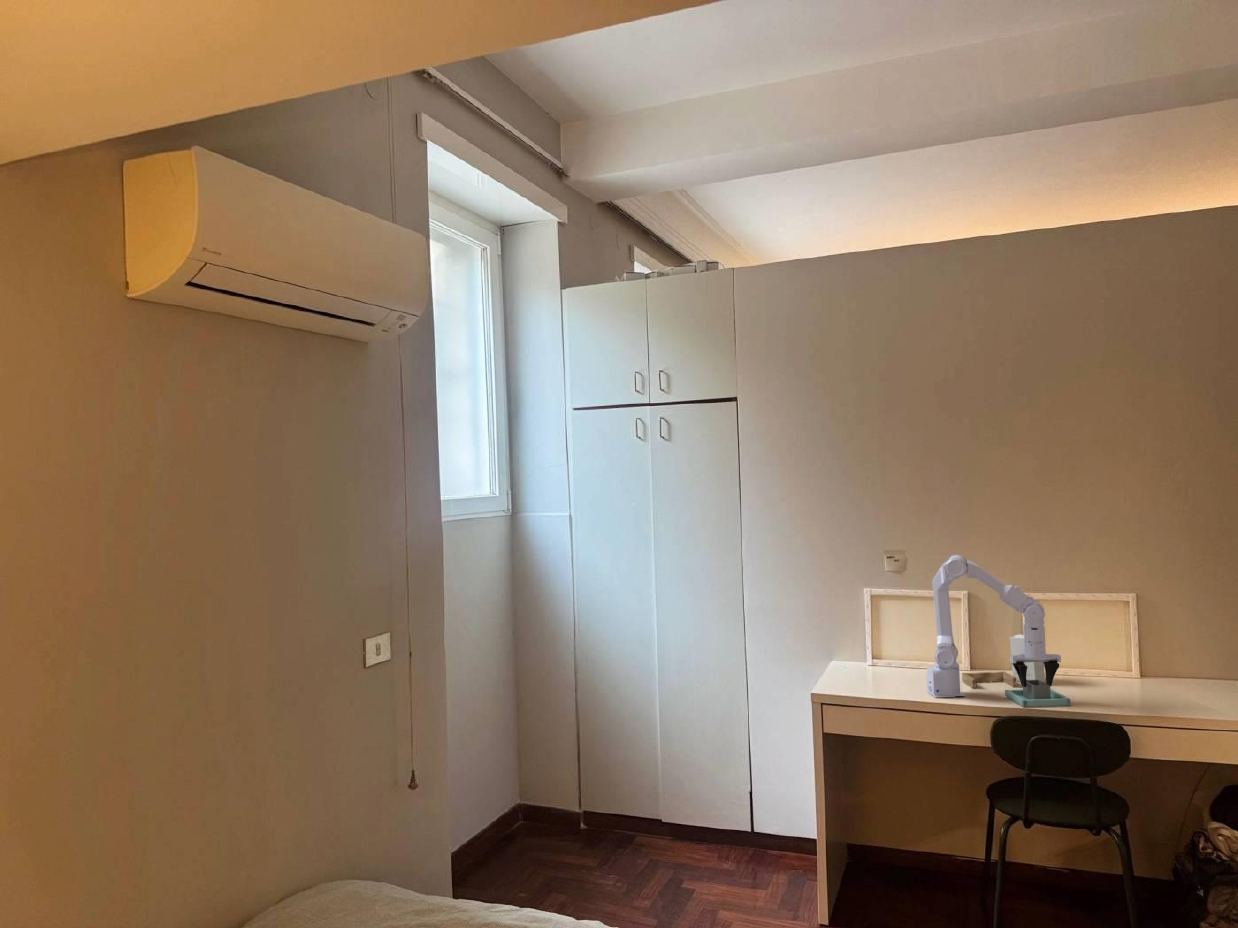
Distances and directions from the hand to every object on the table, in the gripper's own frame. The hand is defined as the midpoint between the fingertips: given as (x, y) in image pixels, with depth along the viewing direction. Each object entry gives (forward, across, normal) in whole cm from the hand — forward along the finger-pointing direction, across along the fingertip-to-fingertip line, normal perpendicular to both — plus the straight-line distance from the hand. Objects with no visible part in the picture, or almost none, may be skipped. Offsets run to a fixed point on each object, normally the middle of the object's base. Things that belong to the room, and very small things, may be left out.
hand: (1036, 685), depth 253 cm
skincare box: (+5, -8, -22) cm, 24 cm away
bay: (+5, +6, -20) cm, 21 cm away
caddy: (+4, 0, 0) cm, 4 cm away
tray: (+5, 0, 0) cm, 5 cm away
